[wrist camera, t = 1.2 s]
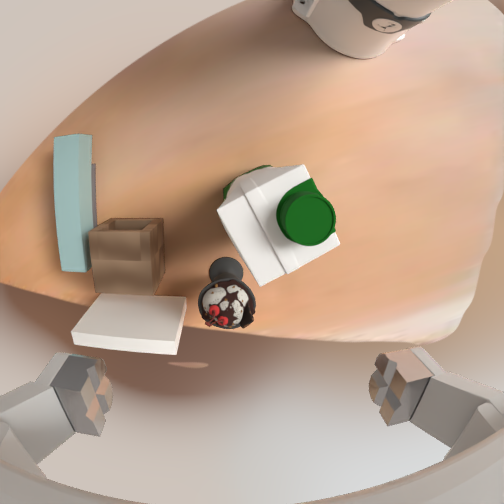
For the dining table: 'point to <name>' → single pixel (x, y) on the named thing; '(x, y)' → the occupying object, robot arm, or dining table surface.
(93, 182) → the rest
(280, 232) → the milk carton
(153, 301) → the wall
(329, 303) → the dining table surface
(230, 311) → the sundae
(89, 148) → the peg
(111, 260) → the block
